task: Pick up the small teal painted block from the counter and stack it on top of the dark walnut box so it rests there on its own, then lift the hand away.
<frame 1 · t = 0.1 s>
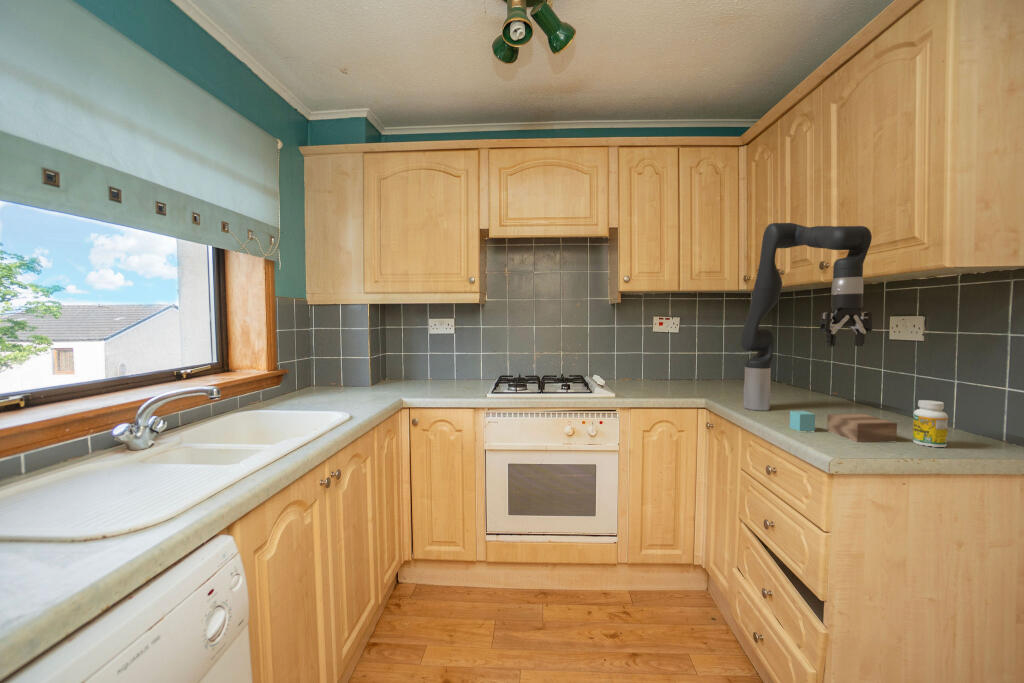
hand: (845, 346, 128), 29 cm above the countertop, tool pointing down, fingers open, 8 cm apart
teal block: (801, 430, 141), on the countertop
supplement bottle: (929, 445, 124), on the countertop
walnut box: (860, 437, 133), on the countertop
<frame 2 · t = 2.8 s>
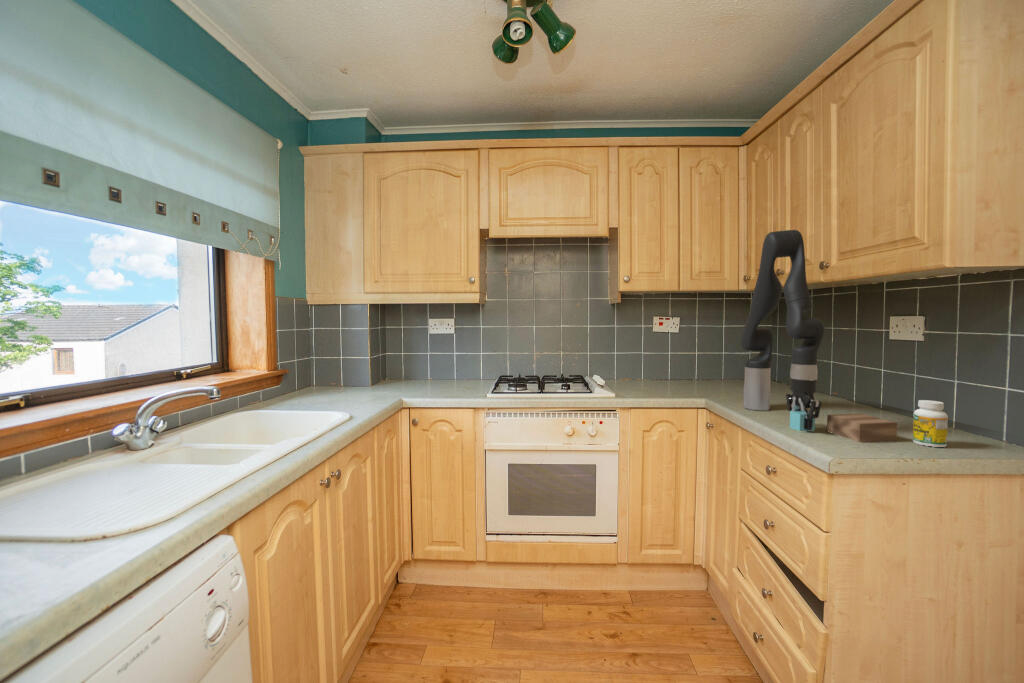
hand: (802, 427, 141), 1 cm above the countertop, tool pointing down, fingers closed on teal block, 5 cm apart
teal block: (801, 430, 141), on the countertop, touching gripper
everything else where it was.
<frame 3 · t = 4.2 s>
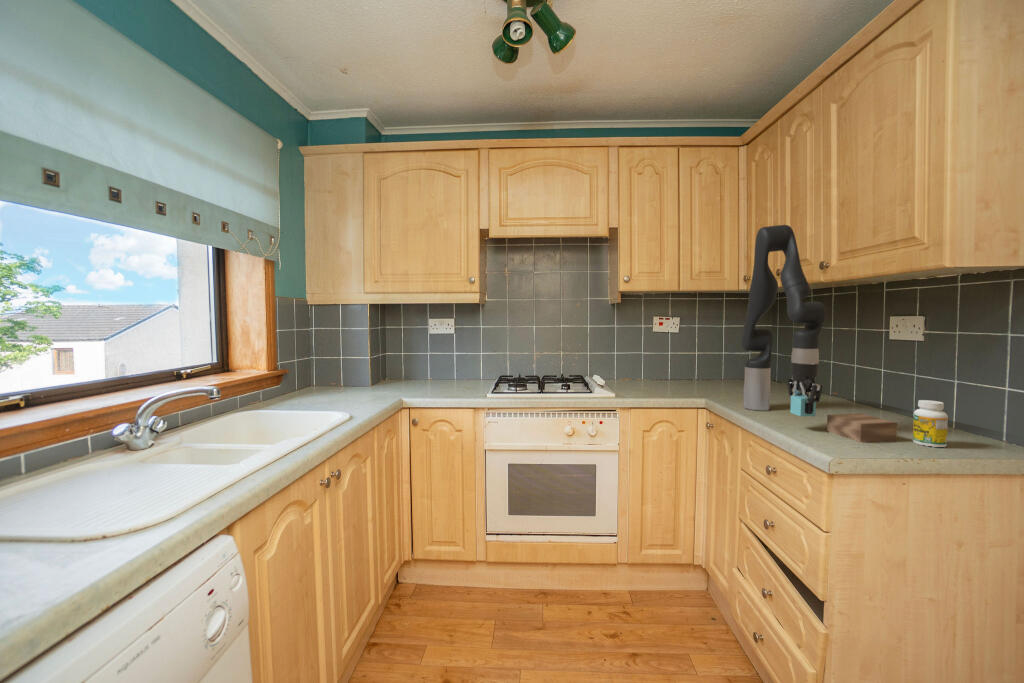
hand: (802, 411, 141), 6 cm above the countertop, tool pointing down, fingers closed on teal block, 5 cm apart
teal block: (802, 414, 141), point 5 cm above the countertop, touching gripper
everything else where it was.
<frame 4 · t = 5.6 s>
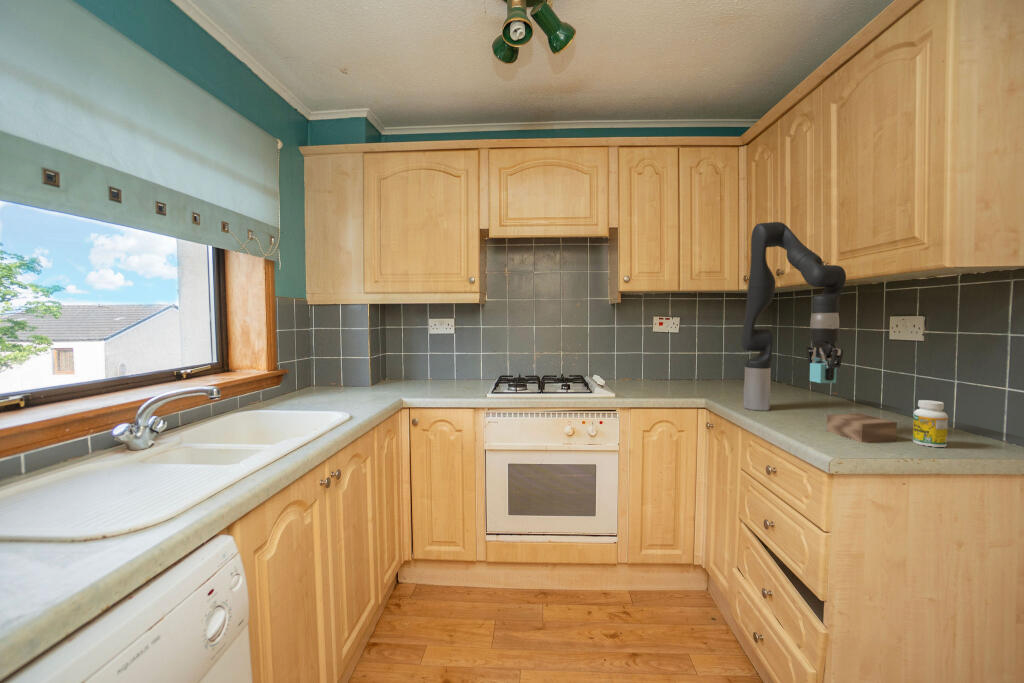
hand: (823, 378, 137), 18 cm above the countertop, tool pointing down, fingers closed on teal block, 5 cm apart
teal block: (822, 381, 137), point 17 cm above the countertop, touching gripper
everything else where it was.
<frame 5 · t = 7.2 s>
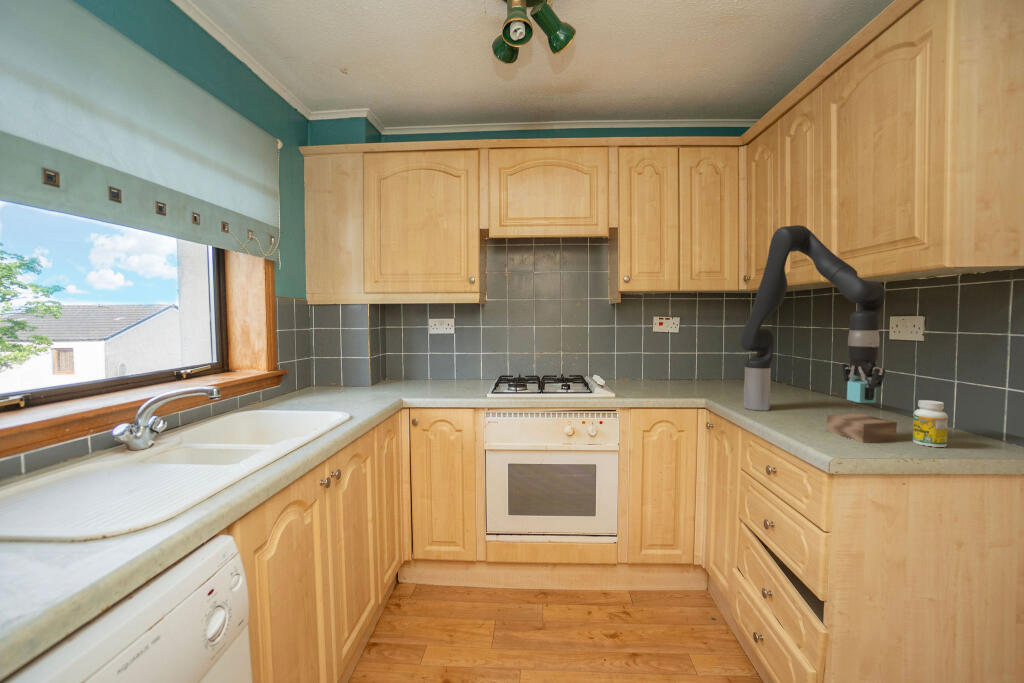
hand: (861, 398, 132), 12 cm above the countertop, tool pointing down, fingers closed on teal block, 5 cm apart
teal block: (861, 401, 132), point 11 cm above the countertop, touching gripper
everything else where it was.
when the fingers open (8 cm above the countertop, at t = 8.3 s): teal block drops 2 cm, point 6 cm above the countertop.
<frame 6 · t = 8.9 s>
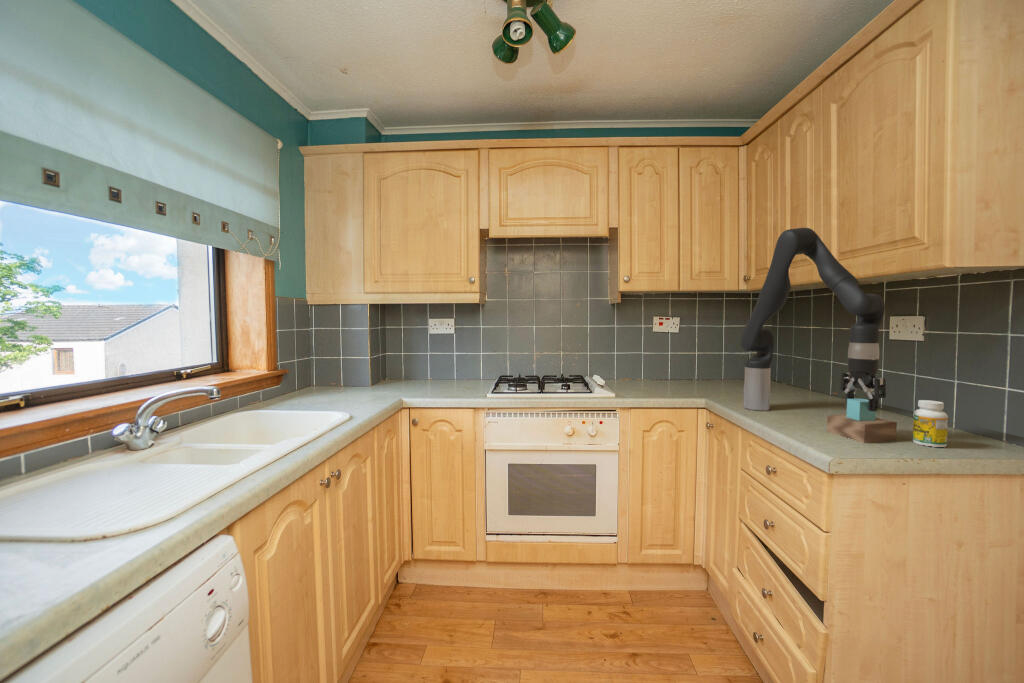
hand: (861, 407, 133), 9 cm above the countertop, tool pointing down, fingers open, 8 cm apart
teal block: (860, 418, 133), point 6 cm above the countertop
everything else where it was.
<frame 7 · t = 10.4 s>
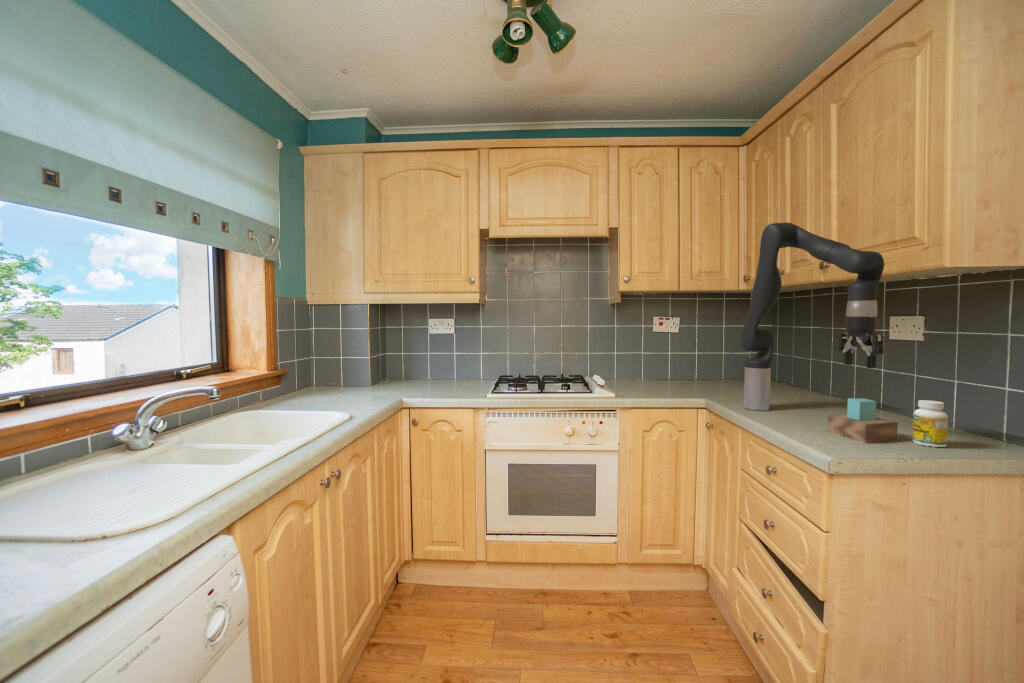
hand: (859, 366, 133), 22 cm above the countertop, tool pointing down, fingers open, 8 cm apart
nothing on the countertop moved.
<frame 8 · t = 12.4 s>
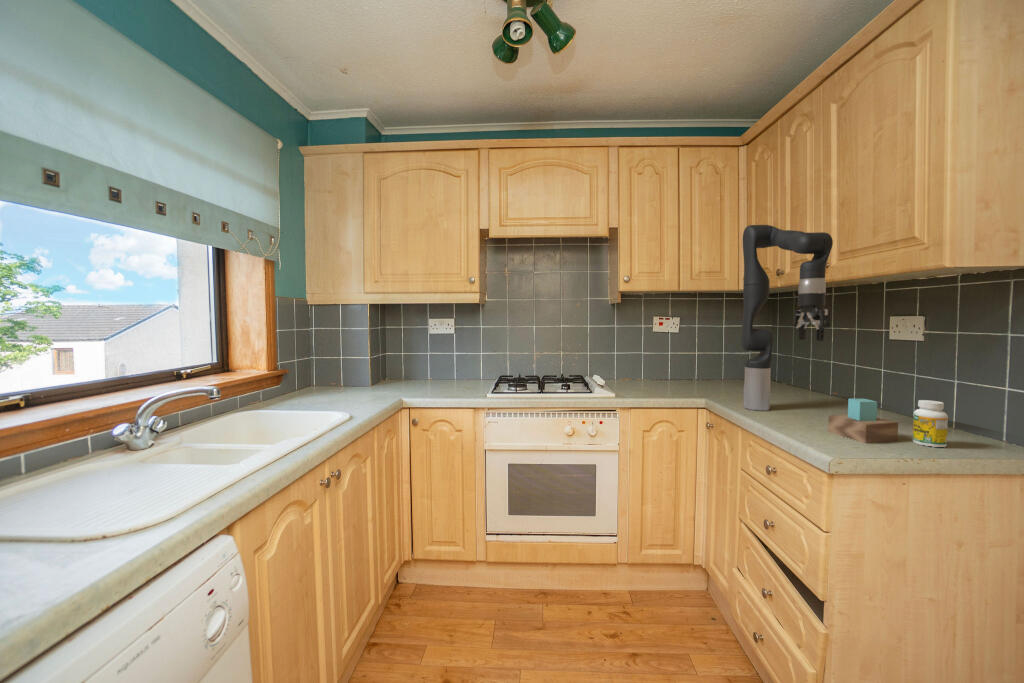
hand: (810, 340, 142), 30 cm above the countertop, tool pointing down, fingers open, 8 cm apart
nothing on the countertop moved.
at the end: teal block inside the target area on the walnut box (0.1 cm from its centre), point 6.1 cm above the walnut box's base; teal block touching walnut box; teal block tilted 1° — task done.
